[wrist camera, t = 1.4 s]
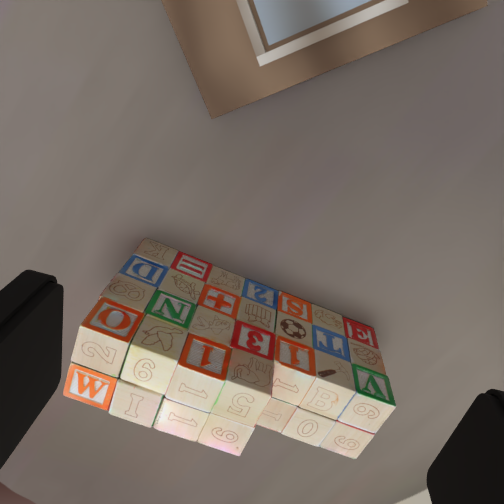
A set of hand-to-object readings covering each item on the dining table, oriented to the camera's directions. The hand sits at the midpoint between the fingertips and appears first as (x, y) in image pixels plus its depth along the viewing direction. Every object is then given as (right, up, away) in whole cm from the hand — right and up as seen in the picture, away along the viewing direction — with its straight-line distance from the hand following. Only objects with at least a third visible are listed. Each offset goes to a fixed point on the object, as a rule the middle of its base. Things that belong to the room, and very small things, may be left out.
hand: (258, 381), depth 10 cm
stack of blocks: (0, -2, +28) cm, 28 cm away
